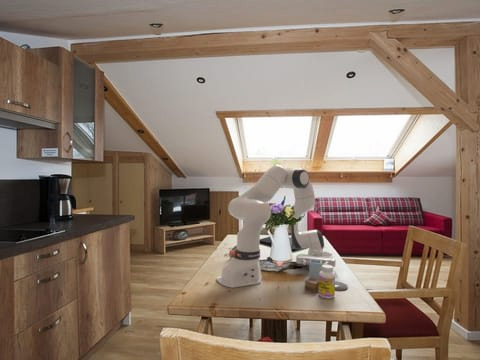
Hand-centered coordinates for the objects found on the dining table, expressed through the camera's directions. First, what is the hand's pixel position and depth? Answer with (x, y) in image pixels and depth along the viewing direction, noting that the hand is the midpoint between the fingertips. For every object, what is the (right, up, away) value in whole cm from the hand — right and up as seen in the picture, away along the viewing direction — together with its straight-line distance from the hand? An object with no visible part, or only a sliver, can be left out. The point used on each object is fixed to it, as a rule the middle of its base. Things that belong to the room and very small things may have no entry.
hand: (315, 264), depth 154 cm
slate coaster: (+6, -6, -14) cm, 16 cm away
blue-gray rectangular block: (-2, -6, -9) cm, 11 cm away
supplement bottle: (-1, -6, -25) cm, 26 cm away
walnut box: (-6, -6, -18) cm, 20 cm away
